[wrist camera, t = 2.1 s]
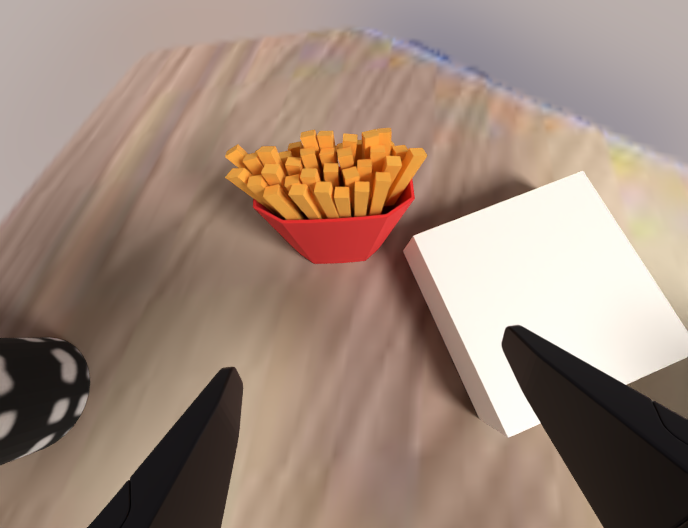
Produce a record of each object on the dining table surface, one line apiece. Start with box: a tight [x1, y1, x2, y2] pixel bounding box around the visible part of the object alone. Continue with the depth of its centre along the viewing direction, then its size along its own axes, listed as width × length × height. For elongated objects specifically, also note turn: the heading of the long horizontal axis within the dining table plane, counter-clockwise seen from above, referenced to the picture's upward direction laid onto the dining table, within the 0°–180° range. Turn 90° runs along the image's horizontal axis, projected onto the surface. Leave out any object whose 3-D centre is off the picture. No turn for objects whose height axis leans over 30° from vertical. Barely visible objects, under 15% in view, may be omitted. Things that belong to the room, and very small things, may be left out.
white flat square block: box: [403, 171, 688, 438], centre depth 22 cm, size 14×14×4 cm
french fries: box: [225, 128, 427, 264], centre depth 19 cm, size 9×4×13 cm, turn 93°
